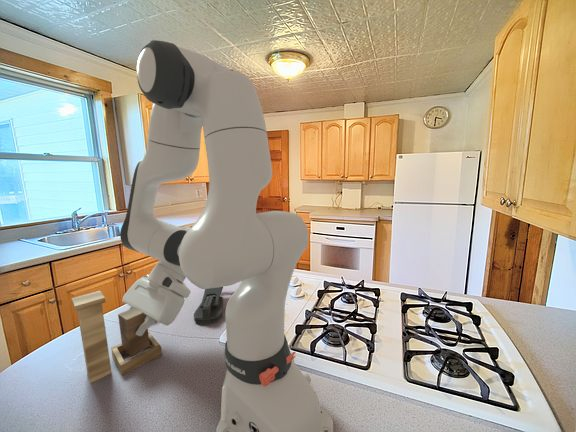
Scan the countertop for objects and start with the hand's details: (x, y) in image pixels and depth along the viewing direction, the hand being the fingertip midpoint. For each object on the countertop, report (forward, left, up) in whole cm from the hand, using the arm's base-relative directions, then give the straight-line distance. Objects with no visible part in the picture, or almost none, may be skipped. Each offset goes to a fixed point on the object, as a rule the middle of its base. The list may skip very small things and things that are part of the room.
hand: (131, 330), depth 63 cm
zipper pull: (+9, -28, -8) cm, 30 cm away
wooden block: (0, -1, -5) cm, 5 cm away
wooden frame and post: (0, +2, -7) cm, 8 cm away
